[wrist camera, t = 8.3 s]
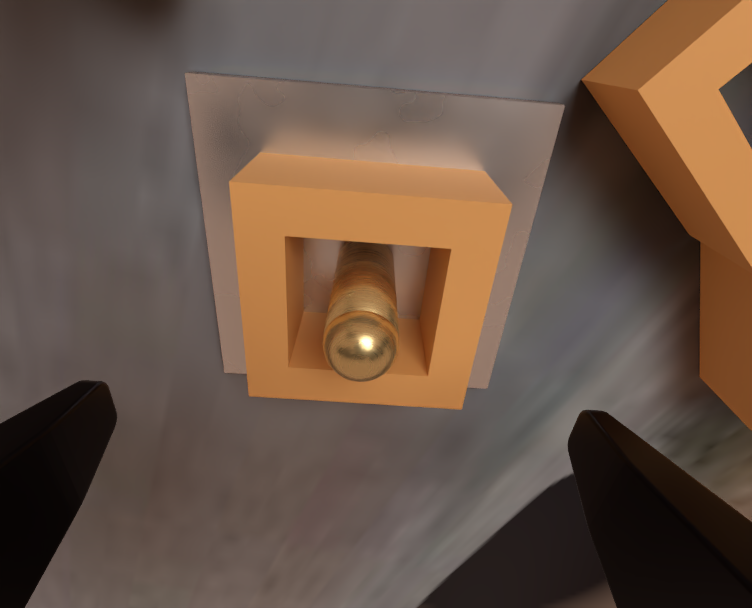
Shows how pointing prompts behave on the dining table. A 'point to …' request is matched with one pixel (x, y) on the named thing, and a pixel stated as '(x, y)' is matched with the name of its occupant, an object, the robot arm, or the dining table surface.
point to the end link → (373, 225)
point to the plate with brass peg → (376, 144)
